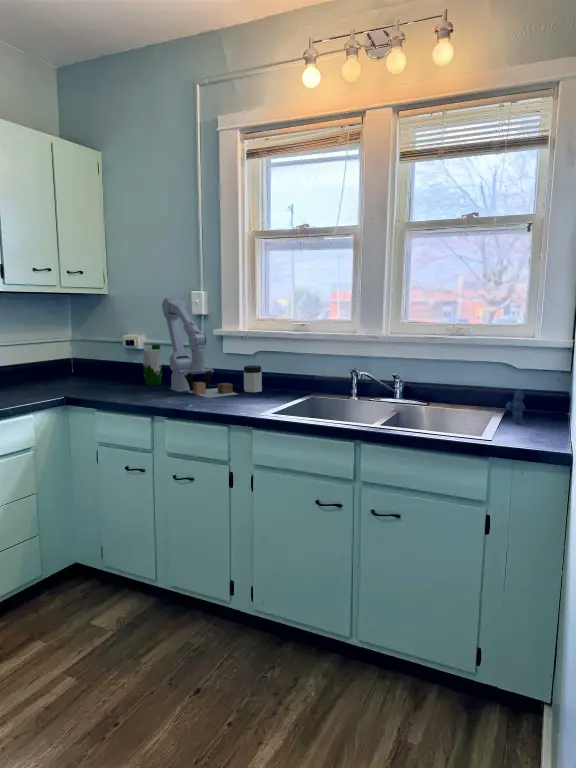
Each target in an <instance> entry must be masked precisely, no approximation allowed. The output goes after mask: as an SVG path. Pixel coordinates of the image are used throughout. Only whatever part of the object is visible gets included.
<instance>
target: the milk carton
mask: <svg viewBox="0 0 576 768" xmlns="http://www.w3.org/2000/svg"><path fill="white" fill-rule="evenodd" d="M142 359H143V360H142V365H143V366H142V367H143V369H142V370H143V377H144V380H145V384H146V386H154V385H155V386H159V385H161V384H162V375H163V372H162V370H163V369H162V368H163V367H162V366H163V365H162V354H161V345H160V344H152V345H151V347H149V348H143V354H142Z"/></svg>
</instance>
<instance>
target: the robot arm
mask: <svg viewBox="0 0 576 768" xmlns="http://www.w3.org/2000/svg"><path fill="white" fill-rule="evenodd" d="M161 307H162V312H163V316H164V318H165V319H166V324H167V328H168V333H169V339H170V342H171V346H172V351H173V353H172V354H171V355H170V356H169V359H168V360H169V368H170V370H171V371H172V373H171V375H170V378H171V380H170V381H171V387H170V388H169V389H170V390H171V391H172V390H173V391H175V392H188V391H192V390H193V383H194V380H195V379H194V378H195V376H194V375H197V374H198V375H199V374H202V375H203V380H204V381H203V382H204V383H205V384H206V389H209V386H210V381H211V379H212V377H213V376H214V375H213V373H214V368H212V367H209V368H208V367H207V368H206V367H205V365H206V364H205V363H206V362H205V346H206V344H207V337H206V336H207V335H206V334H205V333H204V332H202V331H201V330H200V329H199V327H198V326H197V324H196V322H195V321H193V320H192V319H191V317H190V315H189V313H188V311H187V302H186V300H185V299H184V298H183V297H180V298H179V297H178V298H175V297H174V298H173V297H171V298H169V297H168V298H167V297H166V298H164V299H163V300H162V304H161ZM179 318H180V320H181V322H182V323H183V330H184V331H185V333H186V335H187V338H188V344H189V349H190V351H191V353H188V352H187V351H186V349H185V346H184V342H183V338H182V337H183V336H182V333H181V330H180V324H179Z"/></svg>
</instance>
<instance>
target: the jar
mask: <svg viewBox="0 0 576 768" xmlns="http://www.w3.org/2000/svg"><path fill="white" fill-rule="evenodd" d="M262 376H263V375H262V365H254V364H253V365H251V364H250V365H245V366H243V390H244V392H245V393H258V392H260V393H261V392H262V391H263V385H262V383H263V382H262V381H263V380H262V379H263V377H262Z"/></svg>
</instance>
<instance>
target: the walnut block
mask: <svg viewBox="0 0 576 768" xmlns="http://www.w3.org/2000/svg"><path fill="white" fill-rule="evenodd" d="M233 387H234V386H233V383H229V382H223V383H217V388H218V393H222V394H226V393H234V391H233Z"/></svg>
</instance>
